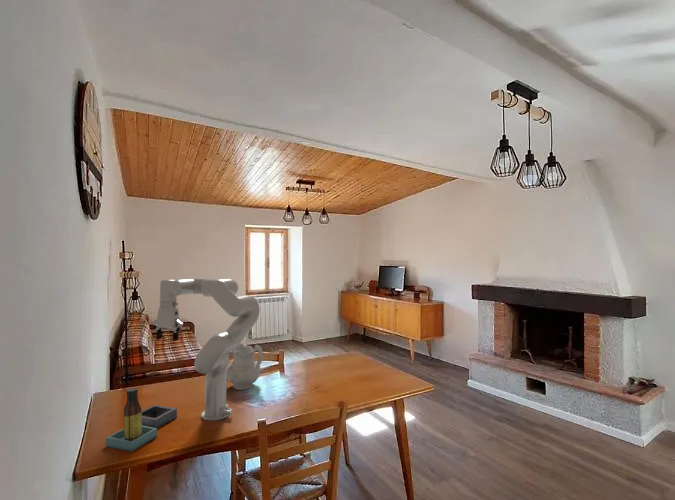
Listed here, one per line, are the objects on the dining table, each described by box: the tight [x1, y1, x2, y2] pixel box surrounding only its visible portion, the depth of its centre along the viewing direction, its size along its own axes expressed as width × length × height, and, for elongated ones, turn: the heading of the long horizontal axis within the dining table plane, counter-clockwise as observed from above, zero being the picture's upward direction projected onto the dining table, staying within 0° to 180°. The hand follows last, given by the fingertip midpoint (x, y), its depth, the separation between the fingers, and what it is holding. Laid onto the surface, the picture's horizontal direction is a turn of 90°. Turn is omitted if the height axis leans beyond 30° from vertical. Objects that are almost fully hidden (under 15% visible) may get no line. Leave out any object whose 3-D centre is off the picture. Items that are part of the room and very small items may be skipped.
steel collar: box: [141, 404, 178, 429], centre depth 169 cm, size 13×13×4 cm
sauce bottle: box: [123, 387, 142, 441], centre depth 150 cm, size 7×6×20 cm
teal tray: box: [105, 426, 158, 453], centre depth 150 cm, size 13×13×4 cm
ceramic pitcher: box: [227, 342, 264, 391], centre depth 216 cm, size 22×20×25 cm
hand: (167, 339), depth 184 cm, fingers open, 9 cm apart
